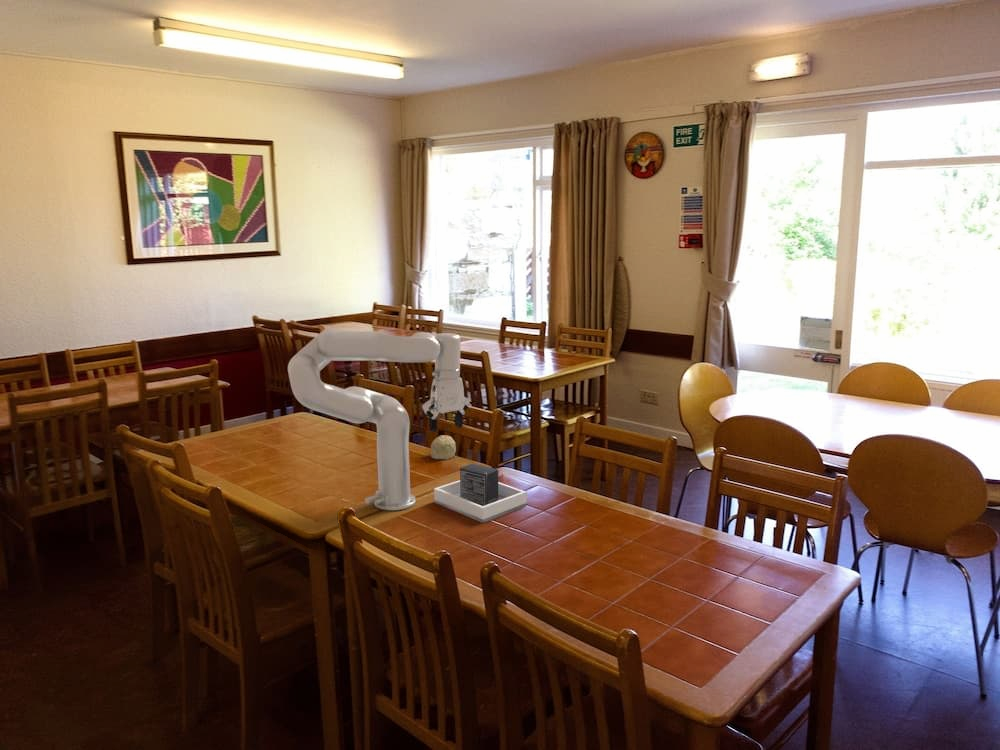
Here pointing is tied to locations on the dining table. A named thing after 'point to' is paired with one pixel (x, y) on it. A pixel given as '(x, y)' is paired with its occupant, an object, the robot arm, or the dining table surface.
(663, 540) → the dining table surface
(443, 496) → the bin
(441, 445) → the decorative object
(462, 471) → the small box
